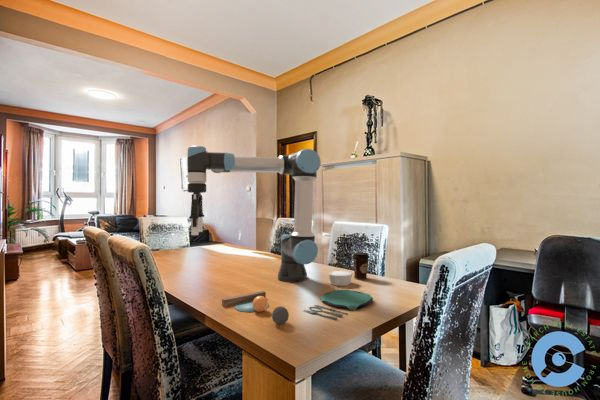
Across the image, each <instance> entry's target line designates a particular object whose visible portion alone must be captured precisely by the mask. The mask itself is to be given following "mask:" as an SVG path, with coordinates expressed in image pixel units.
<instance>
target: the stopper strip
mask: <svg viewBox="0 0 600 400" xmlns="http://www.w3.org/2000/svg"><path fill="white" fill-rule="evenodd" d="M257 296H263V297H265V298H266V297H267V296H266V291H264V290H260V291H255V292H250V293H246V294H241V295H235V296H229V297H224V298H221V306H222V307H224V308H225V307H229V306H235V305H236V304H237V303H242V302H247V301H251V300H254V299H255V298H256V297H257ZM266 299H267V298H266Z"/></svg>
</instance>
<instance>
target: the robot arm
mask: <svg viewBox="0 0 600 400" xmlns="http://www.w3.org/2000/svg"><path fill="white" fill-rule="evenodd" d="M186 159H187V163H186V164H187V175H185V177H186V178H187V182H188V183H187V193H191V202H190V203H191V204H190V216H189V218H188V219H189V220H190V221H191V225H190V226H191V228H190V229H191V230H190V232H191V233H190V235H191V236H199V233H203V227H204V225H203V224H204V223H203V218H204V217H205V214H204V210H203V195H202V193H203V194H204V193H206V192H207V170H208V171H209V170H210V171H212V172H213V173H214V174H222V173H278V174H280V175H289V176H292V177H291V178H292V179H293V180H294V184H295V185H294V186H295V187H294V213H293V218H294V219H293V231H292V232H291V233H289V234H288V233H287V234H281V237H280V238H281V239H280V258H281V261H280V262H281V263H280V267H279V270H278V274H277V279H278V281H282V282H287V283H288V282H289V283H291V282H292V283H293V282H294V283H296V282H302V281H303V282H304V281H306V280H307V279H308V273H307V270H306V266H305V265H309V264H311V263H313V262H314V261H315V260H316V259H317V257H318V253H319V248H318V245H317V244H316V242H315V241H316V240H315V237H316V235H315V234H314V232H313V230H312V228H313V201H314V200H313V198H314V193H313V192H314V181H315V180H316V179H317V175H318V174H317V171H318V170H319V169H320V167H321V164H322V163H321V158H320V155H319V154H318V152H317V151H315V150H313V149H310V148H303V149H300V150H299V151H296V152H294V153H291V154H287V155H280V154H279V156H278V157H277V156H275V157H274V156H273V157H272V156H271V157H270V156H269V157H268V156H267V157H266V156H235V154H234V153H232V152H219V151H218V152H215V151H214V152H213V151H207V147H205V146H201V145H191V146H189V147H188V148H187V158H186Z"/></svg>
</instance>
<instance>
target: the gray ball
mask: <svg viewBox="0 0 600 400" xmlns="http://www.w3.org/2000/svg"><path fill="white" fill-rule="evenodd" d="M289 316H290V314H289V310H288V309H287V308H286V307H285V306H281V305H279V306H276V307H275V308H274V309H273V310H272V313H271V318H272V321H273V322H274V323H275V324H277V325H284V324H285V323H287V322H288V320H289Z"/></svg>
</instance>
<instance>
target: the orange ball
mask: <svg viewBox="0 0 600 400" xmlns="http://www.w3.org/2000/svg"><path fill="white" fill-rule="evenodd" d="M268 304H269V302H268V299H267V298H265V297H263V296H257V297H256V298H255V299H254V300H253V308H254V309H255V310H256V311H257V312H259V313H260V312H264V311H265V310H267V309H268V308H267V305H268Z"/></svg>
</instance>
